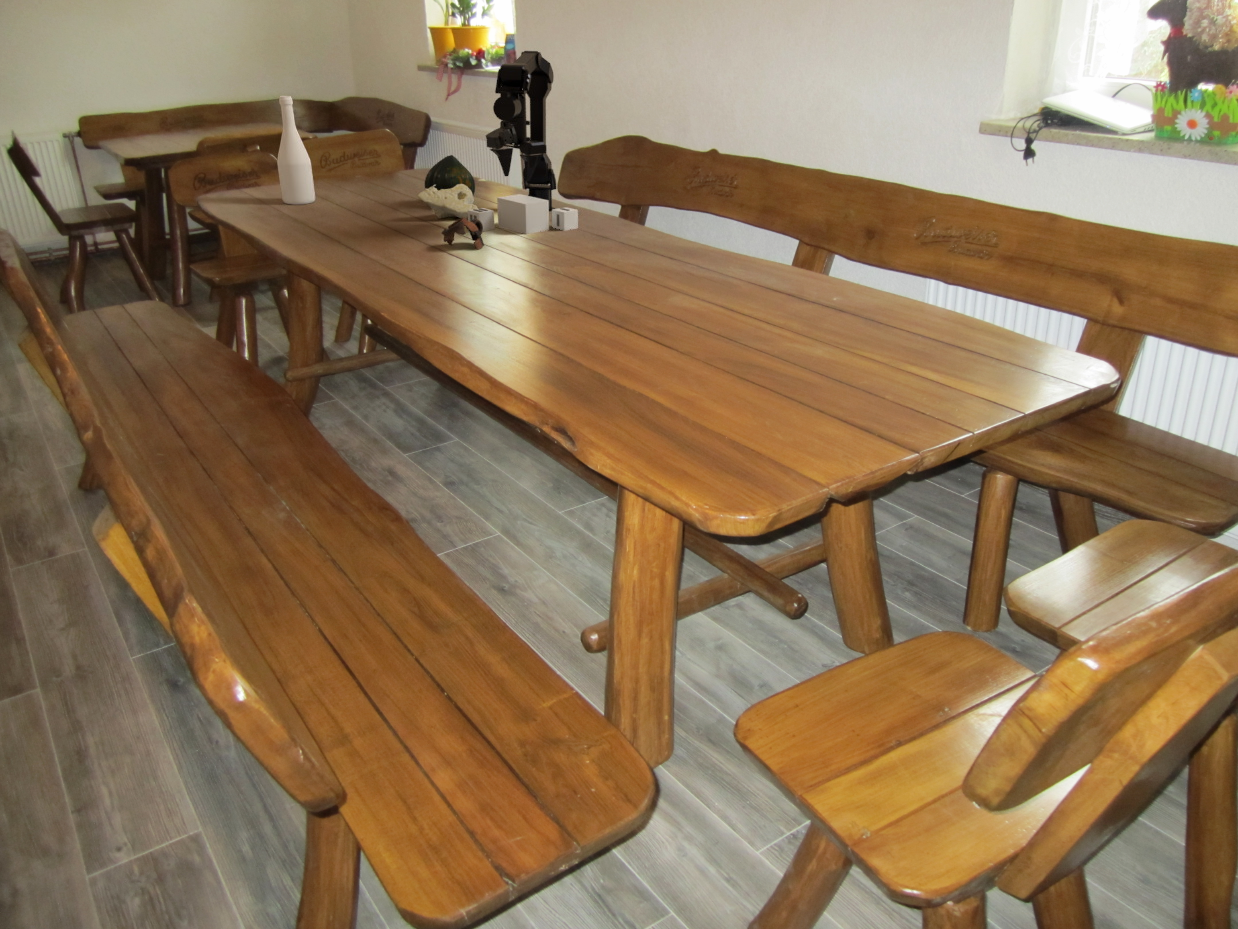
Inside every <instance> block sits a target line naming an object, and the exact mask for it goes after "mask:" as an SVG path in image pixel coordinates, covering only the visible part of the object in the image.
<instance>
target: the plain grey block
mask: <svg viewBox="0 0 1238 929" xmlns="http://www.w3.org/2000/svg"><path fill="white" fill-rule="evenodd" d="M496 199H497V200H496V202H497V226H498V228H502V229H505V230H509V231H513V232H517V233H521V234H525V235H529V233H530V234H536V233H539V232H540V231H541V232H544V231H545V230H546V231H549V230H550V215H549V214H550V211H549V200H544V199H540V198H535V197H531V196H528V195H526V194H522V193H517V194H511V195H506V196H499V197H496ZM546 231H545V232H546ZM541 232H540V233H541Z"/></svg>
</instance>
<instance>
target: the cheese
mask: <svg viewBox="0 0 1238 929" xmlns="http://www.w3.org/2000/svg"><path fill="white" fill-rule="evenodd" d="M434 186H436V185H433V186H432V187H430V188H428V189H426V188H425V187H424V190H423V191H420V192H419V193H418V195H417V199H419V200H420V201H421V202H424V203H425V204H427V206H429V207H430V208H431V210H432V211H434V213H435V216H437V218H438V219H444V218H447V217H453V218H457V217H458V219H461V218H464V217H466V219H467V220H468V210H472V209H479V208H478V206H477V204H474V202H475V199H474V195H472V192H471V190H470V189H469V188H468V187H467V186H466V185H464V184H457V185H456V186H455V187H453V188H451V189H441V190H439V191H438V190H437V189H436V188H435V187H434Z"/></svg>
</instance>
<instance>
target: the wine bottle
mask: <svg viewBox="0 0 1238 929" xmlns="http://www.w3.org/2000/svg"><path fill="white" fill-rule="evenodd" d="M278 101H279V105H280V108H281V118H282V119H281V120H282V133H281V137H280V138H281V139H280V144H279V149H278V154H277V160H276V163H277V171H278V177H279V178H278V179H279V184H280V191H281V192H280V193H281V198H282V201H283V203H284V204H287V205H295V206H296V205H299V206H300V205H307V204H312V203H314V202H315V201H316V193H315V185H314V177H313V170H312V169H313V168H312V161H311V159H310V156H309V154H308V151H307V149H306V147H305V145H304V142H303V140H302V138H301V136H300V134H299V132H298V130H297V126H296V122H295V115H294V107H293V104H294V103H293V98H292V96H291V95H280V96H279V98H278Z"/></svg>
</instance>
